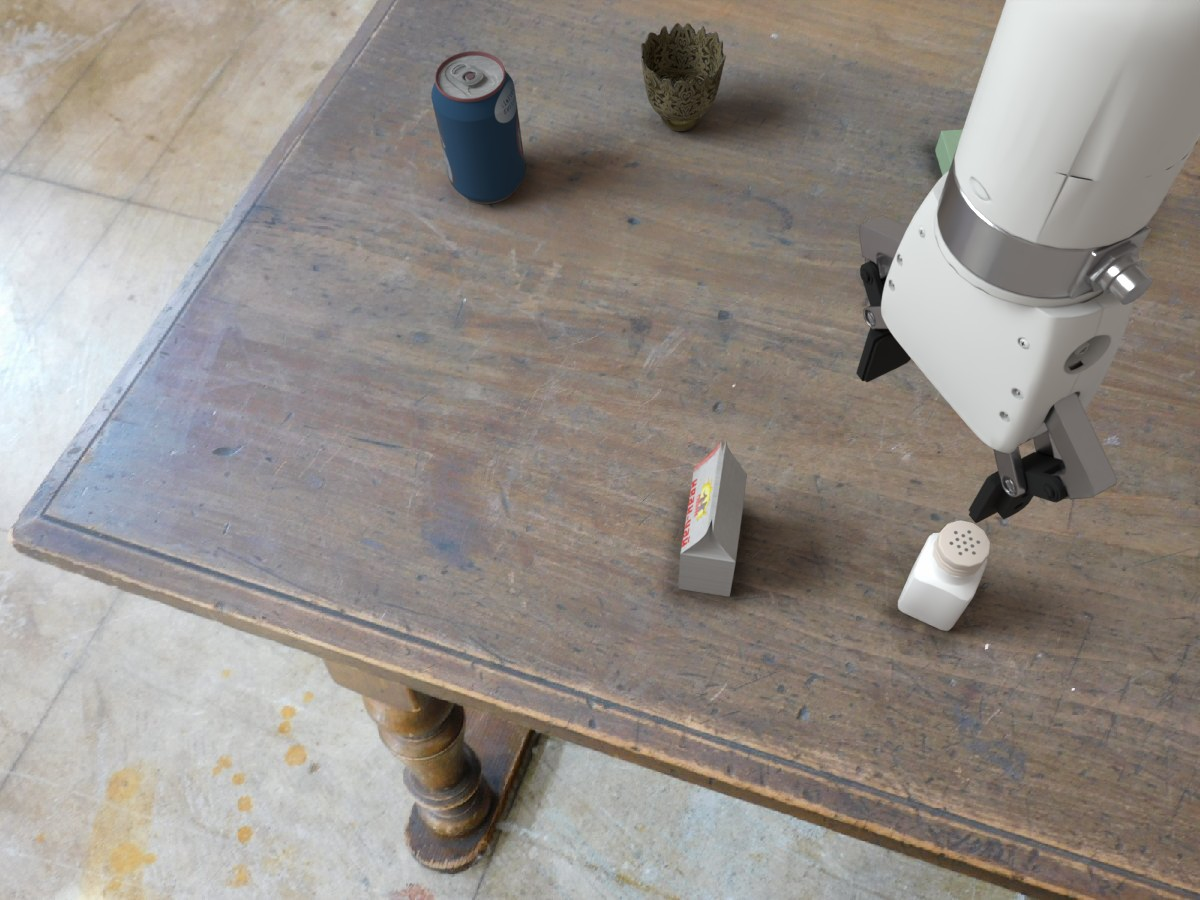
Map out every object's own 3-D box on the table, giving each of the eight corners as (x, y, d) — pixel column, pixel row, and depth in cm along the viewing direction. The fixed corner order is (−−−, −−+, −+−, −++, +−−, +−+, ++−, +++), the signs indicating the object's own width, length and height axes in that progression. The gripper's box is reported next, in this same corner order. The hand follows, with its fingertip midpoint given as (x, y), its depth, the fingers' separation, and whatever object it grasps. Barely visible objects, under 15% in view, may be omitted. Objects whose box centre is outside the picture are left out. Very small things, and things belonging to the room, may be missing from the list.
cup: (722, 148, 99) (728, 78, 92) (642, 150, 99) (642, 81, 92) (717, 91, 102) (723, 20, 95) (640, 94, 102) (639, 23, 96)
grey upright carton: (740, 512, 80) (752, 444, 71) (729, 596, 76) (740, 535, 68) (691, 505, 80) (696, 436, 72) (678, 588, 77) (682, 527, 68)
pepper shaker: (913, 565, 77) (944, 504, 69) (967, 589, 76) (1006, 530, 68) (893, 611, 75) (923, 555, 67) (948, 636, 74) (985, 582, 66)
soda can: (542, 178, 97) (530, 71, 87) (487, 221, 95) (467, 117, 85) (490, 142, 100) (471, 34, 90) (434, 183, 98) (409, 77, 87)
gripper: (1280, 326, 39) (1104, 534, 53) (978, 46, 47) (898, 294, 61) (1117, 412, 37) (982, 601, 52) (833, 107, 45) (786, 346, 60)
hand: (936, 434), depth 57 cm, fingers open, 9 cm apart
